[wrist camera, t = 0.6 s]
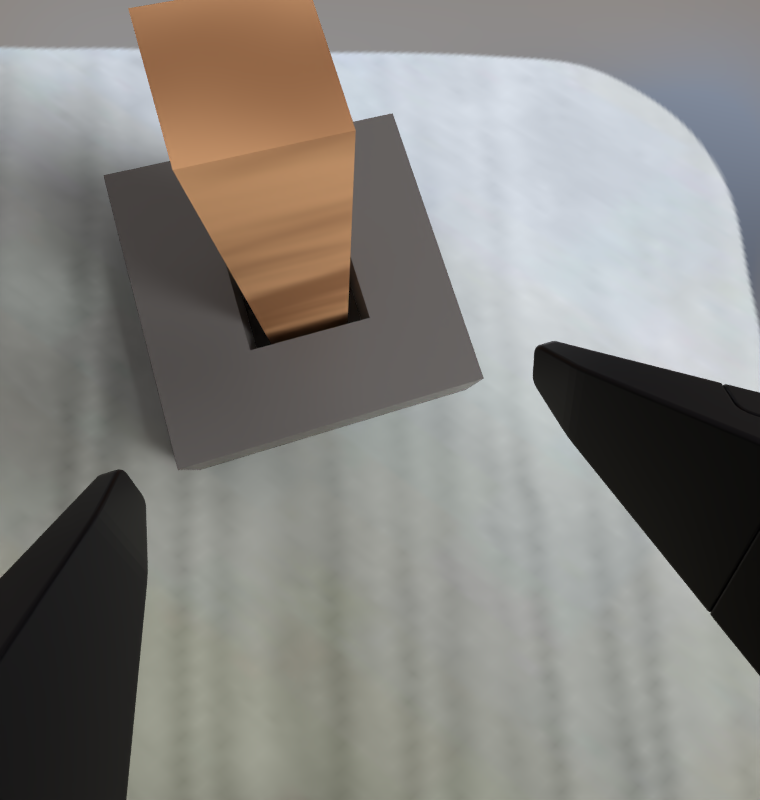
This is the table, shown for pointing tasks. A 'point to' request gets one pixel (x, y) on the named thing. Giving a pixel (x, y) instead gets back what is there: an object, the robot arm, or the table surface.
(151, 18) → the plug
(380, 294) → the grey square socket base
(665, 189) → the table surface
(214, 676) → the table surface
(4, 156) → the table surface
